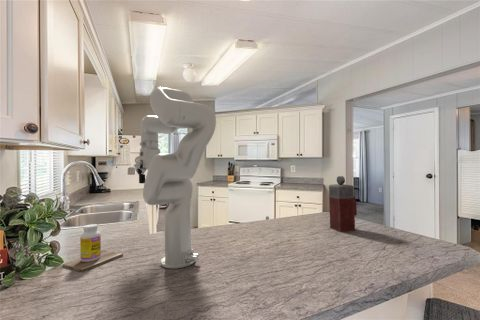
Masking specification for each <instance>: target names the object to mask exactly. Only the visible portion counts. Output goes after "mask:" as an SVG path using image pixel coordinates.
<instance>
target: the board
mask: <svg viewBox="0 0 480 320" xmlns="http://www.w3.org/2000/svg"><path fill="white" fill-rule="evenodd" d="M121 257H124V253H120V252H115V251H111V250H106V249H102V250H101V257H100V258H99V259H97V260H95V261H91V262H82V261H81V257H79V258H77V259H74V260H72V261H69V262H65V263H62V267H63V268H66V269H71V270H72V271H73V270H74V271H77V272H81V273H84V272H86V271H89V270H91V269H94V268H97V267H100V266H102V265H104V264H107V263H109V262H112V261H115V260H117V259H120V258H121Z"/></svg>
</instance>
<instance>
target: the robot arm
mask: <svg viewBox="0 0 480 320" xmlns="http://www.w3.org/2000/svg"><path fill="white" fill-rule="evenodd" d="M149 105H150V108H151V109H152V112H153V113H154V114H155V115H145V116H144V117H143V118H142V119H141V120H140V142H139V145H140V148H139V155H138V162H136V163H135V164H134V165H133V167H134V169H135V171H136V174H137V175H138V183H139V184H143V189H142V198H143V201H144V202H145V204H147V205H149V206H158V205H159V206H160V205H167V204H168V206H167V208H166V210H165V213H164V218H163V220H164V225H163V226H164V227H163V228H164V257H163V258H161V260H160V266H161V267H163V268H166V269H173V270H174V269H182V268H185V267H188V266H192V265H193V264H194V263H197V262H198V260H199V257H200V254H199V253H195V252H194V248H192V225H191V224H192V223H191V220H192V217H191V210H192V209H191V207H192V205H191V204H192V197H193V192H194V189H193V183H192V181H191V179H192V178H194V176H195V175H196V172H197V170H198V168H199V165H200V162H201V160H202V157H203V155H204V152H205V149H206V148H207V147H208V145H209V143H210V141H211V140H212V138H213V136H214V134H215V131H216V127H217V116H216V113H215V110H214V109H213V108H212V107H210V106H208V105H206V104H204V103H199V102H194V100H193V97H192V96H191V94H189V93H188V92H186V91H184V90H182V89H181V90H180V89H174V88H171V87H170V88H169V87H163V86H162V87H161V86H159V87H156V88H155V89H153V91H152V92H151V94H150V97H149ZM180 128H182V129H191V131H189V132H188V133H186V134H185V135H184V136H183V137H182V139H181V140H180V141H179V143H178V146H177V149H176V151H175V152H173V153H170V152H168V153H167V152H165V153H161V150H160V148H159V134H164V135H165V134H167V135H168V134H169V135H170V134H171V135H172V134H174V133H175V132H177V131H178V130H179V129H180ZM146 171H147V173H146ZM145 173H146V174H145Z"/></svg>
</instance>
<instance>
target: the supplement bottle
mask: <svg viewBox="0 0 480 320" xmlns="http://www.w3.org/2000/svg"><path fill="white" fill-rule="evenodd" d="M98 226H99V225H98V224H96V223H94V224H93V223H91V224H87V225H83V232H82V233H81V234H80V237H79V238H80V241H79V242H80V243H79V244H80V251H79V252H80V253H79V255H80V257H79V258H81V261H82V262H91V261H95V260H97V259H99V258H100V257H101V251H102V250H101V248H102V246H101V245H102V243H101V242H102V241H101V240H102V239H101V236H102V235H101V234H102V233H101V232H100V231H99V230H98V228H99V227H98Z"/></svg>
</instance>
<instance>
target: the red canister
mask: <svg viewBox="0 0 480 320" xmlns="http://www.w3.org/2000/svg"><path fill="white" fill-rule="evenodd" d="M336 182H337V184H329V186H328V201H329V202H328V204H329V228H330V229H332V230H334V231H336V232H339V233H346V232H355V231H356V219H355V216H356V217H357V215H358V214H357V213H358V212H357V211H358V210H357V199H356V197H355V189H354V188H355V187H354V185H352V184H346V179H345V177H344V176H343V175H341V176H340V175H339V176H337V177H336Z"/></svg>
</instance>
